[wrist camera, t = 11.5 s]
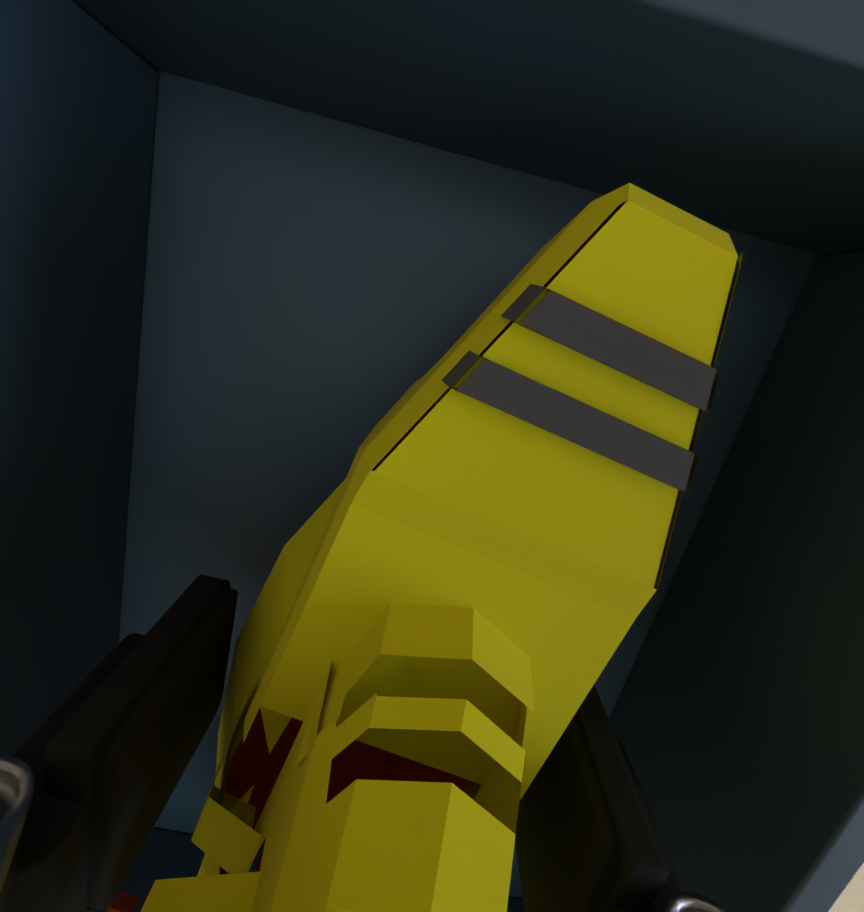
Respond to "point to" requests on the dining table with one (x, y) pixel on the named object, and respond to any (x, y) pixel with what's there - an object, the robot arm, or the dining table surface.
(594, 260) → the yellow toy submarine
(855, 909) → the dining table surface
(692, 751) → the tote
